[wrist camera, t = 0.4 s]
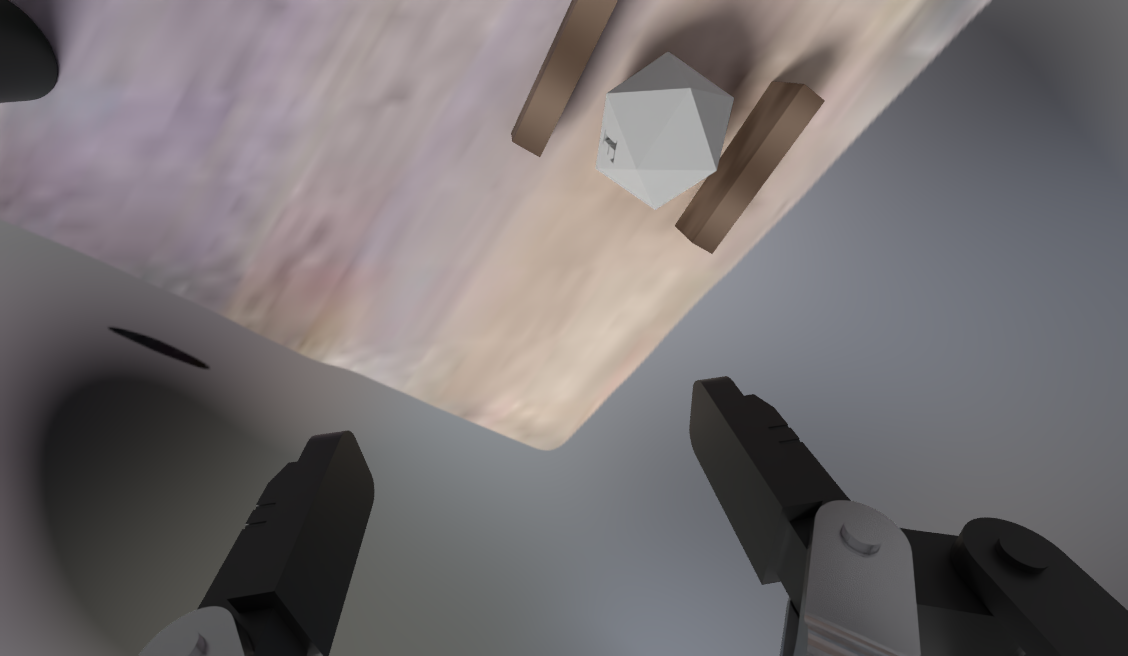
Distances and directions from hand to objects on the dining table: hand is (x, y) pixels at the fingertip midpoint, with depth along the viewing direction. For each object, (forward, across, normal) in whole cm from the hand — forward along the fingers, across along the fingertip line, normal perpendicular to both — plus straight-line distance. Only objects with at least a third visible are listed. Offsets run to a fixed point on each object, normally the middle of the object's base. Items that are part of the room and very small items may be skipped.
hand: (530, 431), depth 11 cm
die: (+27, -10, -3) cm, 29 cm away
